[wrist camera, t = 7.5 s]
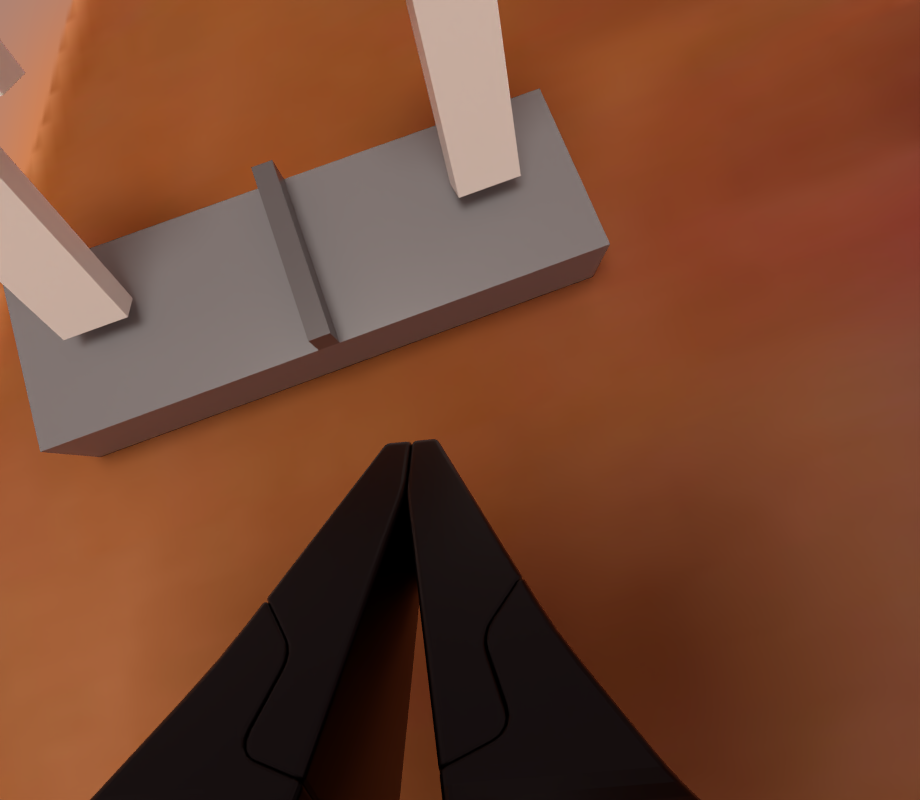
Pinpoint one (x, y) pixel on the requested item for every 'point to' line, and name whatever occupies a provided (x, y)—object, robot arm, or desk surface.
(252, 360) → the grey ridged base plate
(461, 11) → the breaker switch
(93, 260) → the switch
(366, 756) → the robot arm
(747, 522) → the desk surface
